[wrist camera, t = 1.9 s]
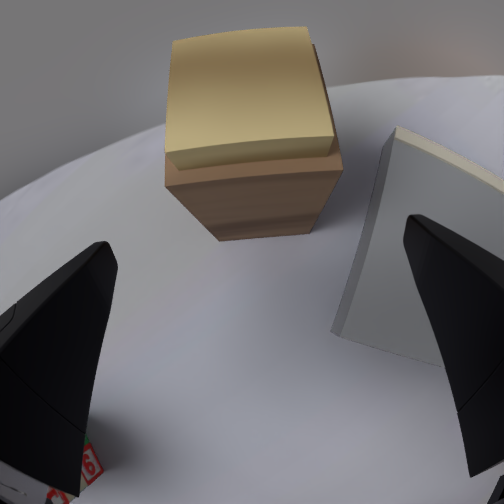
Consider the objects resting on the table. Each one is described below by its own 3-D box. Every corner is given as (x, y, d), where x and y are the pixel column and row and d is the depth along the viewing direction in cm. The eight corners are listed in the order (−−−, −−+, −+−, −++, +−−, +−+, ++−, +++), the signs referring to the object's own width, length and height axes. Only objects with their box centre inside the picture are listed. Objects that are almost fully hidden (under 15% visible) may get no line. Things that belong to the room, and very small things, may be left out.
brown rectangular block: (309, 233, 21) (353, 150, 8) (219, 241, 21) (148, 170, 9) (298, 152, 22) (317, 19, 9) (215, 159, 22) (161, 36, 10)
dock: (466, 370, 18) (490, 379, 15) (330, 331, 20) (340, 337, 16) (501, 204, 20) (524, 193, 17) (383, 146, 21) (397, 125, 18)
